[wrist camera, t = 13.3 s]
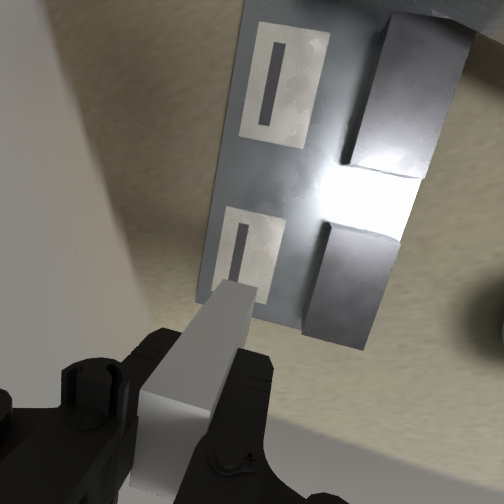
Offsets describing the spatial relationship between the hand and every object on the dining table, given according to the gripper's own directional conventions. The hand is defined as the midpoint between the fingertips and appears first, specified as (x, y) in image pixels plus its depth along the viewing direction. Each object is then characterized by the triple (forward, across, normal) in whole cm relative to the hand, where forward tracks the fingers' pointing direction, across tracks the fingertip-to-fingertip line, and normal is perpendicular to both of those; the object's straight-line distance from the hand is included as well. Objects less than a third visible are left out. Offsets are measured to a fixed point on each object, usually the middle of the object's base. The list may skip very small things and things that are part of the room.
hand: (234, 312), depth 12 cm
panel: (+12, +2, +7) cm, 14 cm away
